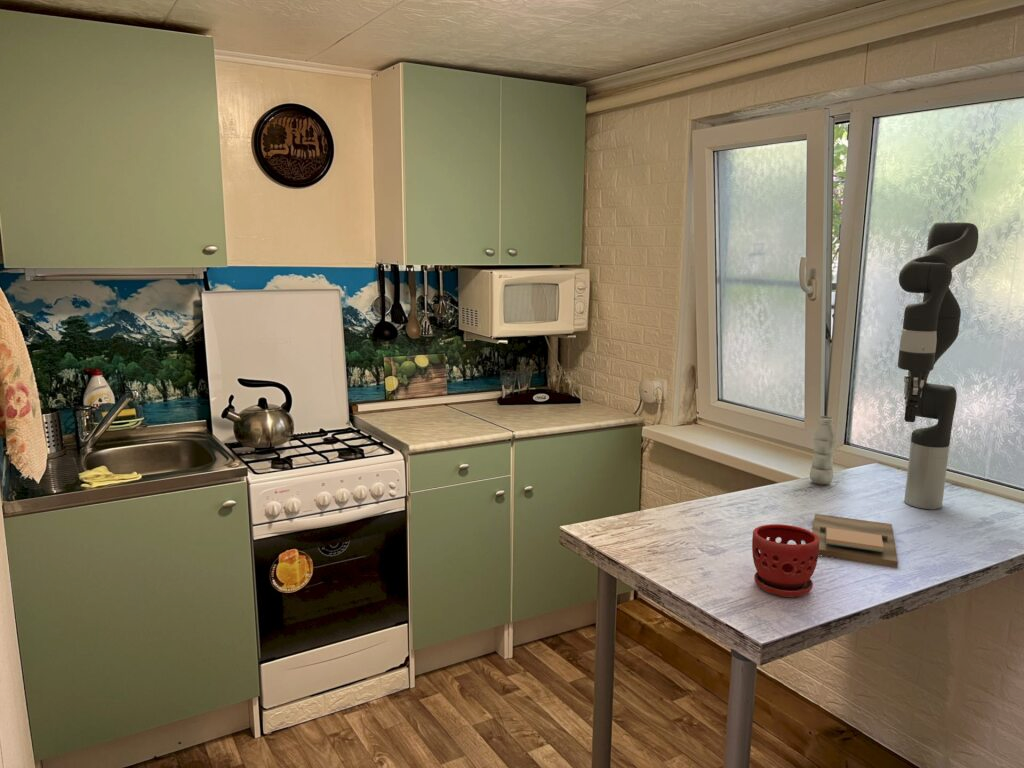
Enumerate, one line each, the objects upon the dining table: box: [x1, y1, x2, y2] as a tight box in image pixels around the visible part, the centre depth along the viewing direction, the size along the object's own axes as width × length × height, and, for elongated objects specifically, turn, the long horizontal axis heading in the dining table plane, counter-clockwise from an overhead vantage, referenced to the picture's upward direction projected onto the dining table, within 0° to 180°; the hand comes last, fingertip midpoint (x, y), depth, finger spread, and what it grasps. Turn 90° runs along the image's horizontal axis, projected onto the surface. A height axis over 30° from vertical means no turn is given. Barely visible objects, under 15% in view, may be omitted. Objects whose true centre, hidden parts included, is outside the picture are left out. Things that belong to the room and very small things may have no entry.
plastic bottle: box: [809, 415, 838, 486], centre depth 228 cm, size 6×7×20 cm
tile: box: [826, 528, 884, 552], centre depth 182 cm, size 10×12×1 cm
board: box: [812, 513, 899, 569], centre depth 187 cm, size 24×18×3 cm
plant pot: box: [751, 523, 819, 598], centre depth 162 cm, size 13×13×12 cm
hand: (909, 421), depth 185 cm, fingers closed
